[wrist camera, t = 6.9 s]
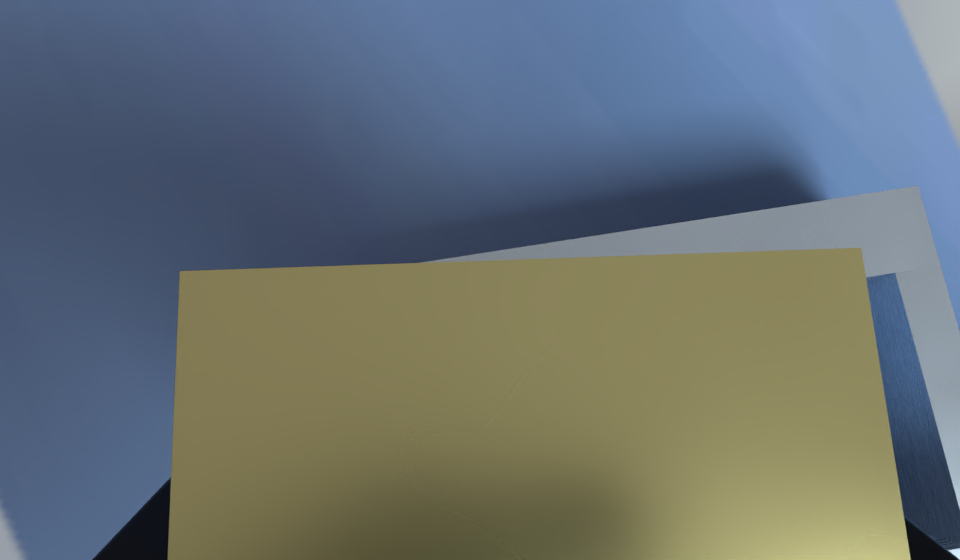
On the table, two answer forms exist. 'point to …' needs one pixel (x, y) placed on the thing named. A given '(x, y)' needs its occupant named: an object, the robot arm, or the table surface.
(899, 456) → the metal frame
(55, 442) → the table surface
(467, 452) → the brass peg
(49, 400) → the table surface
